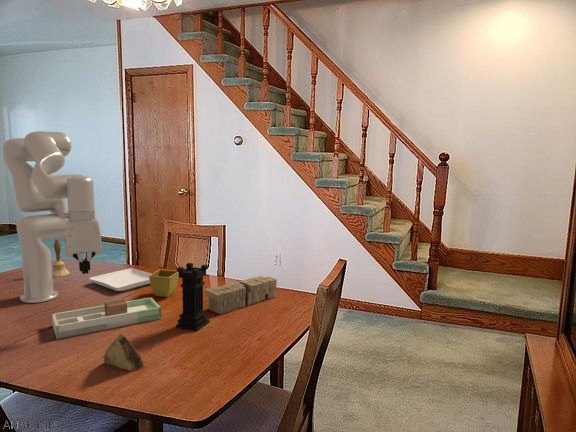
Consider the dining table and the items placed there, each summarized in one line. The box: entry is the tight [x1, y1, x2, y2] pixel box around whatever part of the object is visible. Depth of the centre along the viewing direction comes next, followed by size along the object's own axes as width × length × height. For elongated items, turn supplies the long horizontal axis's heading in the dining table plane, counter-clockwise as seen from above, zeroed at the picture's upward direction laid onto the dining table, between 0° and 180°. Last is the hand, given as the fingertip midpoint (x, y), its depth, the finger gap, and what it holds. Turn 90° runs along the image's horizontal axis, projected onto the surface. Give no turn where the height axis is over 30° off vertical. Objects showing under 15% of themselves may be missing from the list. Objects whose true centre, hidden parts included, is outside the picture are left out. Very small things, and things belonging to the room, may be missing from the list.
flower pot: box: [149, 269, 179, 298], centre depth 174 cm, size 9×9×9 cm
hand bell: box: [52, 239, 71, 278], centre depth 196 cm, size 8×8×16 cm
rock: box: [103, 333, 146, 371], centre depth 120 cm, size 11×9×10 cm
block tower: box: [204, 275, 278, 315], centre depth 168 cm, size 8×8×29 cm
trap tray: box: [51, 296, 162, 340], centre depth 147 cm, size 12×32×4 cm, turn 123°
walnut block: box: [103, 297, 127, 316], centre depth 148 cm, size 6×6×4 cm
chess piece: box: [175, 262, 211, 332], centre depth 145 cm, size 8×8×20 cm
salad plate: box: [88, 267, 152, 292], centre depth 187 cm, size 21×21×3 cm
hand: (85, 272), depth 141 cm, fingers closed
